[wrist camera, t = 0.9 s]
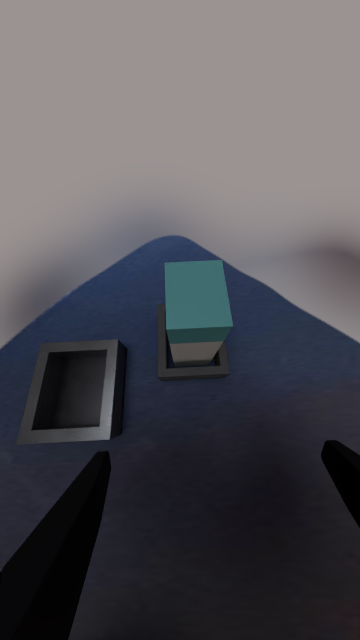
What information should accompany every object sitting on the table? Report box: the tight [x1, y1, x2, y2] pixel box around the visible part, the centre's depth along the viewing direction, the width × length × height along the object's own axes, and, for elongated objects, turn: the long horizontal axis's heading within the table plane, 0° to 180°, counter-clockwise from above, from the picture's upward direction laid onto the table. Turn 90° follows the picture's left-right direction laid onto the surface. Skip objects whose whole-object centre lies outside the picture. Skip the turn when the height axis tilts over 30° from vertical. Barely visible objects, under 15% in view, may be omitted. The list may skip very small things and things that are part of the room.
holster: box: [158, 304, 230, 381], centre depth 22 cm, size 8×7×3 cm
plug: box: [165, 260, 233, 366], centre depth 18 cm, size 5×4×12 cm
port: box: [16, 339, 127, 445], centre depth 20 cm, size 9×8×4 cm
